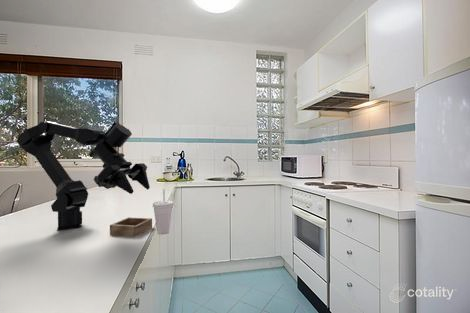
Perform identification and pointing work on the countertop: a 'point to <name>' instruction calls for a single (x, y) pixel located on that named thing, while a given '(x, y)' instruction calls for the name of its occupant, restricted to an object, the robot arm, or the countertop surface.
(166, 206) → the smoothie
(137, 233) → the socket block
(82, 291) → the countertop surface
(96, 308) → the countertop surface
